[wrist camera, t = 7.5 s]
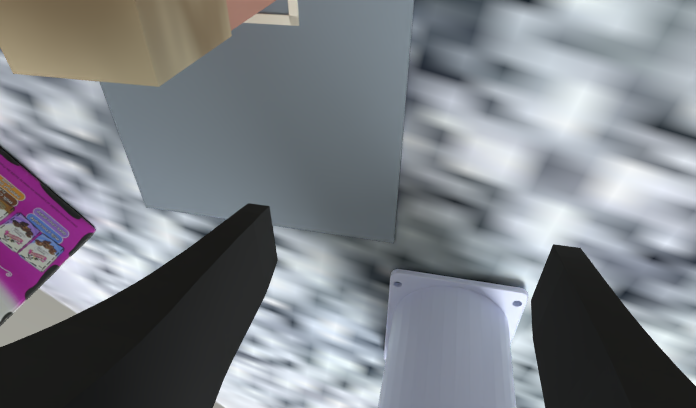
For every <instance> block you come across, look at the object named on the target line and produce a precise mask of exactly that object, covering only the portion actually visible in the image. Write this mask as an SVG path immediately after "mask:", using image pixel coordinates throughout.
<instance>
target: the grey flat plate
mask: <svg viewBox="0 0 696 408" xmlns="http://www.w3.org/2000/svg"><path fill="white" fill-rule="evenodd" d="M413 9H414V0H276V1H275V2H273V3H272V4H270V5H269V6H267V7H266V8H264V9H263V10H261V11H260V12H258V13H257V14H255V15H254V16H252V17H251V18H249V19H248V20H246V21H245V22H243V23H242V24H240V25H239V26H237V27H236V28H234V29H233V30H232V31H231V34H232V36H231V37H230V38H228V39H227V40H225V41H224V42H223V43H221V44H220V45H218V46H217V47H215V48H214V49H212V50H211V51H210V52H208V53H207V54H205V55H204V56H202V57H201V58H200V59H198V60H197V61H195V62H194V63H192V64H191V65H190V66H188V67H187V68H185V69H184V70H182V71H181V72H179V73H178V74H177V75H175V76H174V77H172V78H171V79H169V80H168V81H167V82H165V83H164V84H162V85H161V86H159V87H155V86H144V85H133V84H122V83H111V82H100V84H101V87H102V90H103V92H104V95H105V98H106V100H107V103H108V106H109V108H110V111H111V114H112V117H113V119H114V122H115V125H116V127H117V130H118V133H119V135H120V138H121V141H122V144H123V146H124V149H125V152H126V154H127V157H128V160H129V162H130V165H131V168H132V171H133V173H134V176H135V179H136V181H137V184H138V187H139V189H140V192H141V195H142V198H143V200H144V203H145V206H146V207H147V208H154V209H161V210H168V211H175V212H182V213H189V214H196V215H202V216H209V217H216V218H223V219H228V218H229V217H230V216H232V215H233V214H234V213H236V212H237V211H238V210H240V209H241V208H242V207H244V206H245V205H247V204H248V203H251V204H258V205H266V206H270V213H271V219H272V226H279V227H286V228H293V229H300V230H307V231H313V232H320V233H327V234H334V235H341V236H348V237H355V238H362V239H369V240H376V241H383V242H390V243H394V235H395V223H396V212H397V200H398V188H399V176H400V164H401V152H402V140H403V128H404V116H405V104H406V92H407V80H408V68H409V56H410V44H411V32H412V21H413Z"/></svg>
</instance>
